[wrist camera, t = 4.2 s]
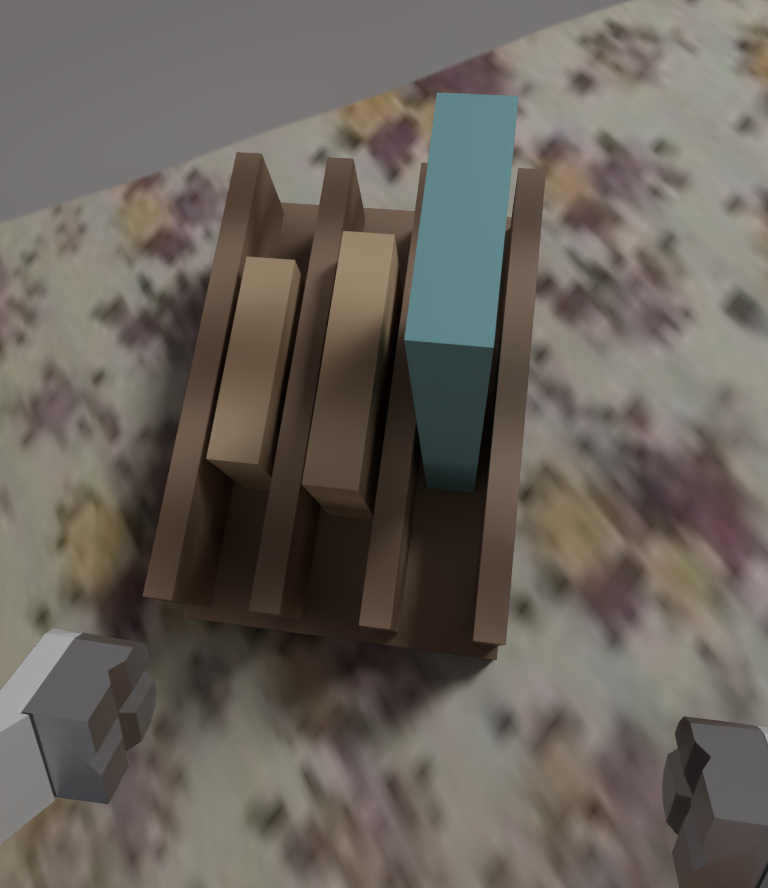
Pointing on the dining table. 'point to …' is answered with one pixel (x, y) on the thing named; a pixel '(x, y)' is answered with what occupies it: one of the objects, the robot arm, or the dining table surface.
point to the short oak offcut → (355, 377)
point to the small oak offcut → (257, 372)
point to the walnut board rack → (401, 471)
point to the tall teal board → (458, 280)
